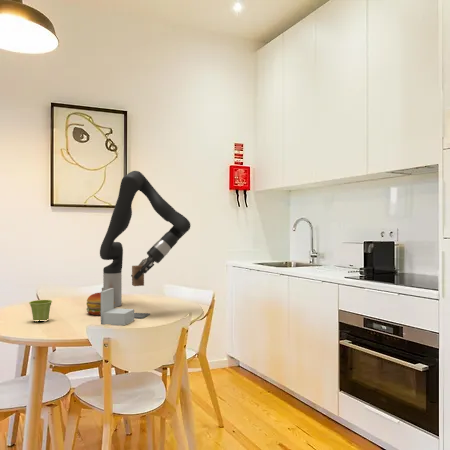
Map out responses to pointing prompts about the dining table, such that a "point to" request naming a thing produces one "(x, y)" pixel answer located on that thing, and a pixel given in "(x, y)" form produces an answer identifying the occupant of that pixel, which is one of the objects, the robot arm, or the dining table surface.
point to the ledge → (114, 310)
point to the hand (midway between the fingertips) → (133, 277)
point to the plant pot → (40, 309)
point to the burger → (94, 304)
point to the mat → (141, 315)
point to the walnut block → (140, 280)
